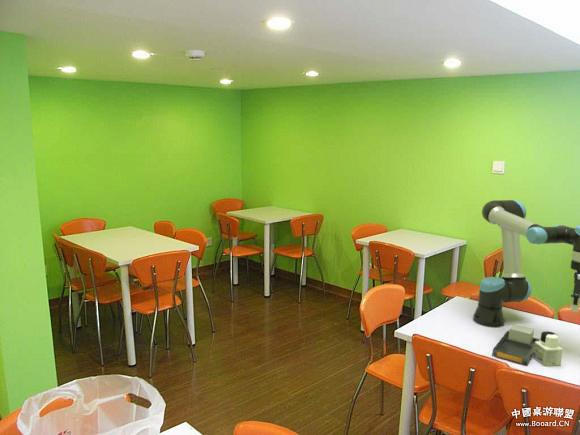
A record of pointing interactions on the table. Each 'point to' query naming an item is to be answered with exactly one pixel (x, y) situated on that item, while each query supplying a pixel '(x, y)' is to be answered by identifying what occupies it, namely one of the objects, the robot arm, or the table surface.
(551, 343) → the container
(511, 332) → the filler block
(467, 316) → the table surface
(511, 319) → the table surface
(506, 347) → the rack tray
